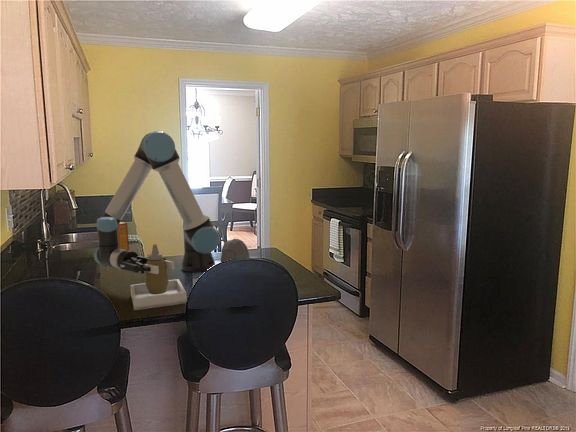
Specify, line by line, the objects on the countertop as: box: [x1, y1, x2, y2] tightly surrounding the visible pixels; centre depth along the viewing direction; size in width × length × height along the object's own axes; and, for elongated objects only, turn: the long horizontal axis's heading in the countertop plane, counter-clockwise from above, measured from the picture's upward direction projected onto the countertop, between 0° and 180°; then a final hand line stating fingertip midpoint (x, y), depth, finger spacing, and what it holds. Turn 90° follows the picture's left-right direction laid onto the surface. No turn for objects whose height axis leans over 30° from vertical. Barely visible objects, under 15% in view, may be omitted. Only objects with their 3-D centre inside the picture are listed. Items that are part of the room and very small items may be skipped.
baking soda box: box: [118, 221, 130, 251], centre depth 246 cm, size 10×6×16 cm
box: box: [129, 278, 188, 311], centre depth 169 cm, size 18×18×4 cm
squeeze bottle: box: [145, 243, 169, 295], centre depth 168 cm, size 8×8×18 cm
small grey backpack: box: [220, 238, 250, 263], centre depth 178 cm, size 15×8×20 cm, turn 157°
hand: (165, 267), depth 165 cm, fingers closed on squeeze bottle, 6 cm apart
